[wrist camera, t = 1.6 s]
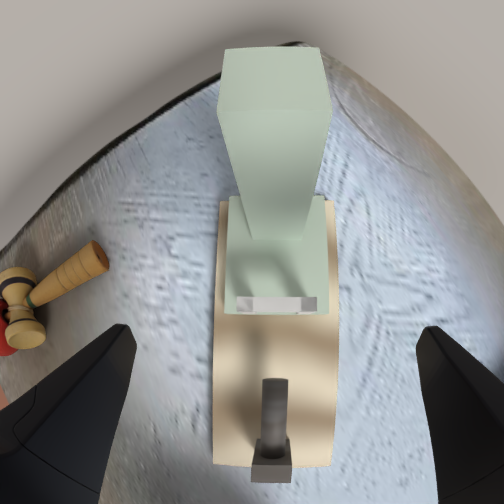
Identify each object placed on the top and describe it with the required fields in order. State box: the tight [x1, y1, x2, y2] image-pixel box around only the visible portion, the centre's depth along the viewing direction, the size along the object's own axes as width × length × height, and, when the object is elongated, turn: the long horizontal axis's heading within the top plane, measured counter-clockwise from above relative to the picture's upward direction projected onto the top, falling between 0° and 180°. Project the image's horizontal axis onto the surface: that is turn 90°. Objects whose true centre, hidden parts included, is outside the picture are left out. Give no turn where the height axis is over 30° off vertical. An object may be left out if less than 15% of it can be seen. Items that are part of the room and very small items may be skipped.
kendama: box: [0, 240, 109, 356], centre depth 21 cm, size 8×6×18 cm
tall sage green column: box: [216, 47, 333, 315], centre depth 14 cm, size 8×7×14 cm
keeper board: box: [213, 200, 339, 483], centre depth 18 cm, size 21×9×6 cm, turn 179°
